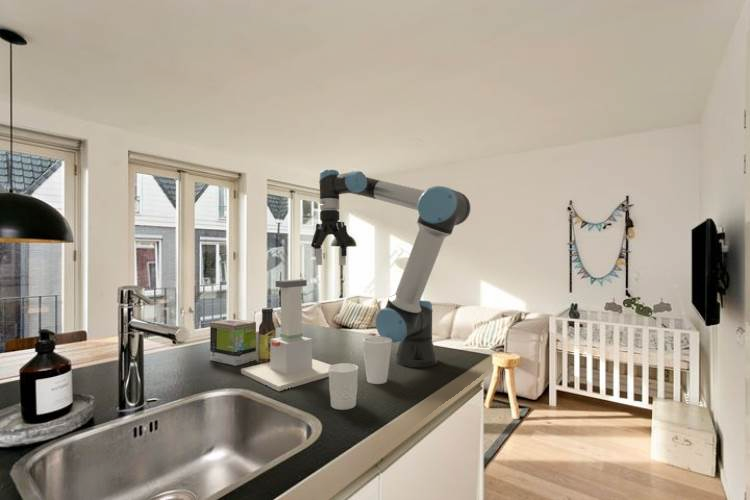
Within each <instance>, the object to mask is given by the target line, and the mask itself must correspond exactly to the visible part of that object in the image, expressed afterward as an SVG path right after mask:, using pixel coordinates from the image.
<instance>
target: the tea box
mask: <svg viewBox="0 0 750 500" xmlns="http://www.w3.org/2000/svg"><path fill="white" fill-rule="evenodd" d="M209 331H210V332H209V333H210V335H209V336H210V341H209V343H210V344H209V346H210V347H209V349H210V350H209V355H210V356H209V357H210V361H214V362H218V363H221V364H226V365H231V366H235V367H236V366H240V365H244V364H247V363H250V361H251V362H254V361H256V360H257V321H252V320H245V319H244V320H243V319H236V318H230V319H222V320H216V321H210V329H209Z"/></svg>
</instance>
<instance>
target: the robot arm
mask: <svg viewBox="0 0 750 500" xmlns="http://www.w3.org/2000/svg"><path fill="white" fill-rule="evenodd" d="M344 194H352V195H356V196H362V197H366V198H371V199H373V200H374V199H375V200H379V201H382V202H386V203H390V204H393V205H397V206H401V207H403V208H408V209H412V210H415V211H418V214H419V216H418V219H417V221H416V224H417V226H418V227H419V228H418V232H417V234H416V238H415V240H414V243H413V245H412V248H411V250H410V251H411V252H410V253H409V257H408V259H407V262H406V264H405V267H404V270H403V272H402V275H401V276H400V277H401V278H400V279H399V283H398V286H397V288H396V291H395V293H394V294H392V295H390V296H389V297H388V300H387V302H386V306H385V307H384V308H382V309H381V310H379V311H378V312H377V314H376V316H375V321H374V322H375V323H374V324H375V329H376V330H377V333H378V335H379V336H381V337H388V338H391V339H392V344H394V343H395V344H396V343H399V345H398V349H397V352H396V356H395V361H396V363H397V364H399V365H401V366H403V367H408V368H429V367H432V366H435V365H437V363H438V356H437V353H436V350H435V347H434V343H433V304H432V302H431V301H429V300H422V296H423V293H424V291H425V288H426V286H427V284H428V282H429V278H430V276H431V273H432V271H433V268H434V266H435V263H436V260H437V257H438V256H439V252H440V251H441V248H442V245H443V242H444V240H445V238H446V237H448V236H451V235H452V234H453V233H452V232H453V231H454V227H456V226H458V225H461V224H462V223H464V222H465V221H466V220H467V219H468V218H469V216H470V215H471V203H470V200H469V198H468V197H467V196H466V195H465V194H463V193H462V192H460V191H457V190H454V189H453V188H450V187H446V186H439V185H436V186H432V187H429V188H426V190H424V189H423V190H422V189H418V188H414V187H410V186H406V185H402V184H399V183H398V184H397V183H393V182H389V181H383V180H379V179H376V178H371V177H367V176H366V175H365V174H364V172H363V171H360V170H359V171H357V170H356V171H354V170H353V171H350V172H345V173H339V171H338V170H335V169H324V170H322V171H320V173H319V210H320V212H319V220H320V222H321V223H316V225H315V231H314V233H313V238H312V241H311V244H310V247H311V248H313V249H314V257H315V266H322V265H323V249H322V245H323V244H324V241H325V240H326V238H327V236H330V235H332V236H333V237H334V239H335V240H336V242H337V243H338V245H339V248H338V266H346V265H347V260H346V256H347V255H348V254H347V249H348V247H350V246H352V245H351V241H350V238H349V235H348V232H347V230H346V227H345V222H344V221H340V195H344Z"/></svg>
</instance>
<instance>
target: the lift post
mask: <svg viewBox="0 0 750 500" xmlns="http://www.w3.org/2000/svg"><path fill="white" fill-rule="evenodd" d="M307 282H308V281H307V279H283V280H275V288H280V333H279V337H281V340H284V341H287V342H291V341H296V340H301V339H302V337H304V336H303V335H304V334H303V331H302V330H303V329H302V328H303V327H302V325H303V324H302V323H303V316H302V314H303V311H302V307H303V306H302V305H303V301H302V300H303V298H302V293H303V292H302V289H303V287H307V286H308V284H307Z"/></svg>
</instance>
